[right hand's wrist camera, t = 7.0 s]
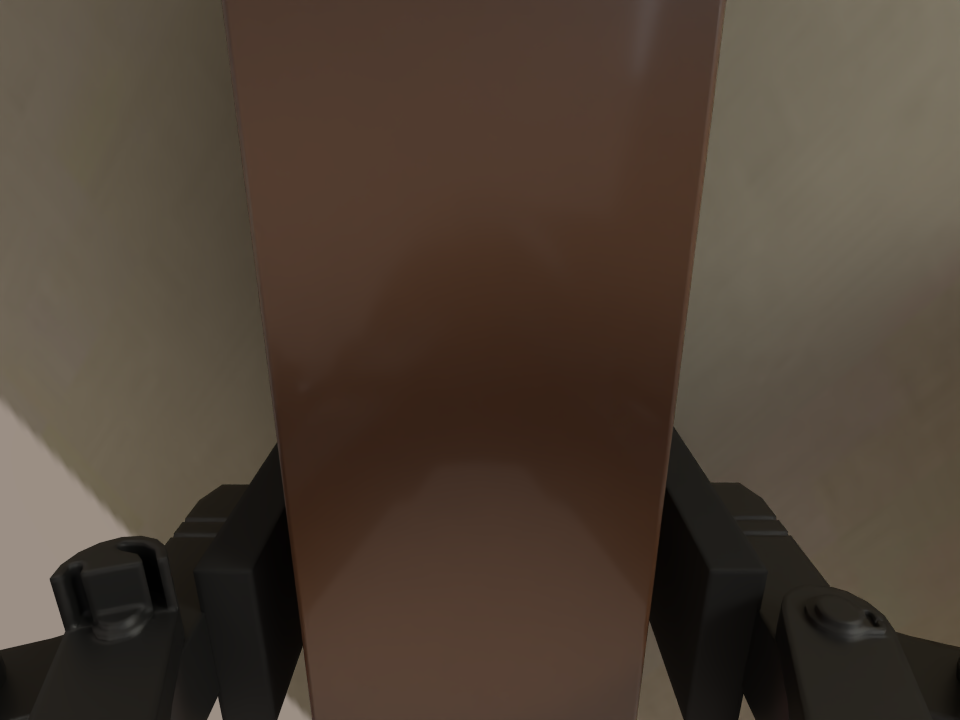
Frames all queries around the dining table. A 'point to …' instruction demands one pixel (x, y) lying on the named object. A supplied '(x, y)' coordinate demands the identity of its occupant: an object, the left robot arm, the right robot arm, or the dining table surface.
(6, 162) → the dining table surface
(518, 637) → the walnut block
